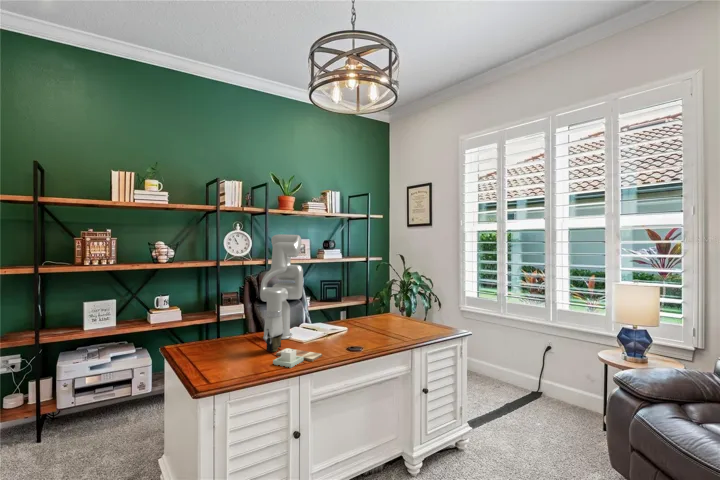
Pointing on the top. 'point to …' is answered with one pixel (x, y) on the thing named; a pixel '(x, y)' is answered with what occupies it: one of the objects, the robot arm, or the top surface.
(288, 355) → the block
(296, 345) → the top surface
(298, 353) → the track
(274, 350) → the dark bronze flared dome
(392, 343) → the top surface
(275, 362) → the tray
